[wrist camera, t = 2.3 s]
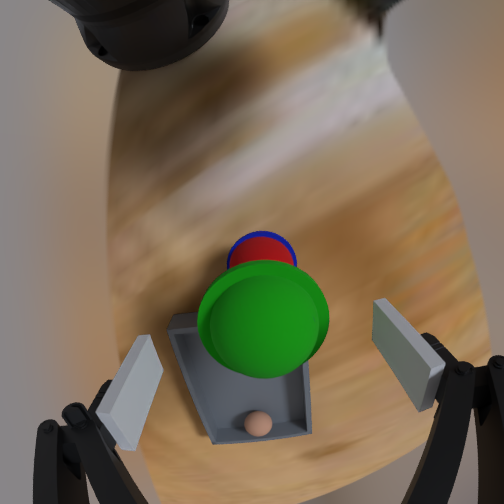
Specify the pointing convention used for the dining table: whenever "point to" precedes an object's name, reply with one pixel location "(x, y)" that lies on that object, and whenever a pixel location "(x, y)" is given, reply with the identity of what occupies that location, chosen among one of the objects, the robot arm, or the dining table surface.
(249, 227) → the dining table surface
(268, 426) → the ball
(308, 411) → the tray
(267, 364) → the toy
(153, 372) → the robot arm
